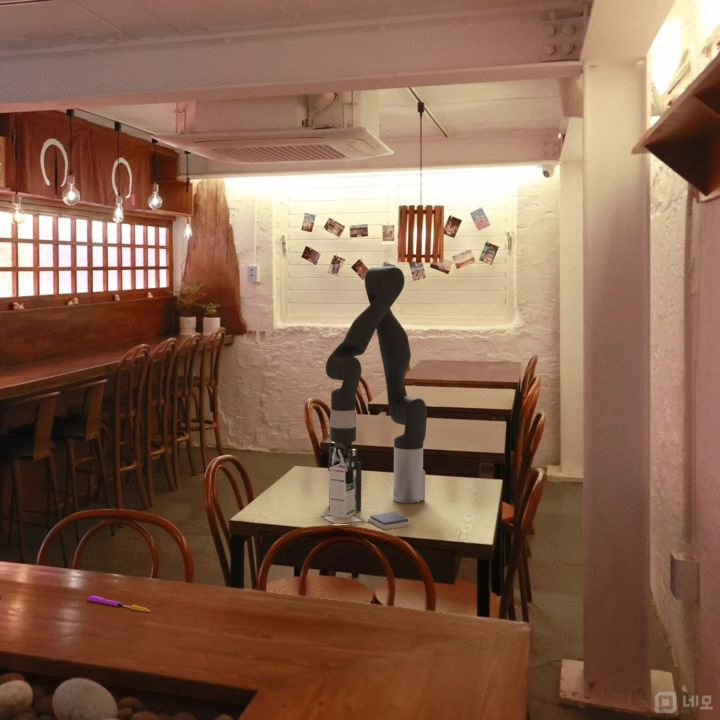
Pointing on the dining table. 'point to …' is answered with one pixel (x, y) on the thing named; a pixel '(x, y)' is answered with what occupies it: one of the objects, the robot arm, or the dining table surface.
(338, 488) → the syrup box
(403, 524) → the ink pad
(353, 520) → the marked card
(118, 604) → the purple and yellow stick
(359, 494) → the dark grey upright block
